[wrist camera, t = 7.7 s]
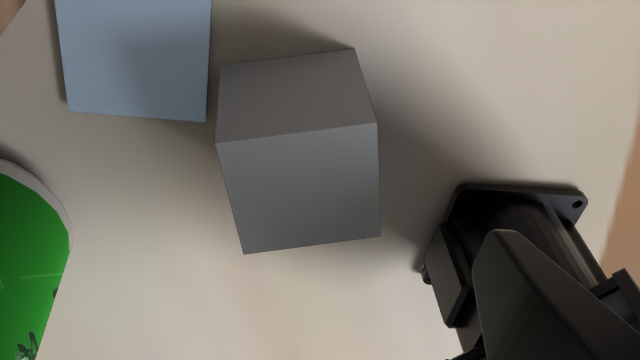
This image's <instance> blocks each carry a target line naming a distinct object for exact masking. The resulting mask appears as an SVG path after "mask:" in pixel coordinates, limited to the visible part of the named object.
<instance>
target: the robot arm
mask: <svg viewBox="0 0 640 360" xmlns="http://www.w3.org/2000/svg"><path fill="white" fill-rule="evenodd" d="M466 193H469V194H468V195H466V196H463V195H464V194H466ZM575 201H576V202H575ZM587 204H588V199H587V198H586V196H585V195H584V193H583V192H581V191H574V190H560V189H545V188H531V187H516V186H502V185H487V184H473V183H465V184H462V185H460V186H458V187H457V188H456V190H455V191H454V194H453V196H452V199H451V201H450V204H449V206H448V208H447V211H446V213H445V216H444V218H443V221H441V223H440V224H439V225H438V226H437V229H436V231H435V234H434V236H433V238H432V241H431V243H430V246H429V248H428V251H427V253H426V256H425V258H424V261H425V265H424V267H423V270H422V273H421V275H422V279H423V281H424V283H426V284H429V285H432V287H433V290H434V293H435V296H436V299H437V302H438V305H439V309H440V312H441V315H442V318H443V321H444V323H445V325H446V326H447V327H448V328H455V329H456V332H457V335H458V338H459V341H460V344H461V347H462V350H463V353H462V354H460V355H458V356H456V357H455V358H453V359H451V360H640V288H639V286H638V285H637V284H636V282H635V281H634V280H633V278H632V277H631V276H630V274H629V273H628V272H627V270H626V269H625V268H623V269H621V270H619V271H617V272H615V273H613V274H612V276H613V277H611V278H609V279H607V277H606V276H605V274H604V273H603V271H602V269H601V268H600V266H599V265H598V263H597V261H596V260H595V258H594V257H593V255H592V253H591V252H590V250H589V249H588V247H587V245H586V244H585V242H584V241H583V239H582V237H581V236H580V234H579V233H578V231H577V229H576V228H575V224H576V222H577V221H578V219H579V217H580V216H581V214H582V213H583V211H584V209H585V208H586V206H587ZM446 360H448V359H446Z"/></svg>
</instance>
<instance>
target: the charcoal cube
mask: <svg viewBox="0 0 640 360" xmlns="http://www.w3.org/2000/svg"><path fill="white" fill-rule="evenodd" d="M215 146H216V150H217V154H218V158H219V162H220V166H221V169H222V173H223V177H224V181H225V185H226V189H227V192H228V196H229V200H230V204H231V208H232V212H233V216H234V219H235V223H236V227H237V231H238V235H239V239H240V243H241V246H242V250H243V254H252V253H259V252H267V251H274V250H282V249H289V248H297V247H304V246H312V245H319V244H327V243H334V242H342V241H349V240H357V239H364V238H372V237H379V236H381V227H380V195H379V164H378V132H377V120H376V117H375V114H374V110H373V107H372V104H371V101H370V97H369V94H368V91H367V88H366V84H365V81H364V78H363V75H362V71H361V68H360V65H359V61H358V58H357V55H356V52H355V48H352V49H344V50H336V51H328V52H321V53H313V54H305V55H297V56H290V57H282V58H274V59H266V60H259V61H251V62H243V63H235V64H228V65H221V68H220V81H219V95H218V108H217V121H216V135H215Z"/></svg>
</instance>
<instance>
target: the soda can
mask: <svg viewBox="0 0 640 360" xmlns="http://www.w3.org/2000/svg"><path fill="white" fill-rule="evenodd" d="M71 246H72V225H71V220H70V218H69V216H68V215H67V213H66V211H65V209H64V207H63V205H62V203H61V201H60V200H59V199H58V198H57V197H56V196H55V195H54V194H53V193H52V192H51V191H50V190H49V189H48V188H47V187H46V186H45V185H44V184H43V183H42V182H41V181H39V180H38V179H37V178H36V177H35V176H34V175H33V174H31V173H30V172H28V171H26V170H25V169H23V168H21V167H20V166H18V165H16V164H14V163H13V162H10V161H7V160H4V159H1V158H0V360H35V358H36V355H37V352H38V349H39V346H40V343H41V340H42V337H43V333H44V330H45V327H46V324H47V321H48V318H49V315H50V312H51V309H52V306H53V302H54V299H55V296H56V293H57V290H58V287H59V284H60V281H61V278H62V274H63V271H64V268H65V265H66V262H67V259H68V256H69V253H70V250H71Z"/></svg>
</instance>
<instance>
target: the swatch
mask: <svg viewBox="0 0 640 360" xmlns="http://www.w3.org/2000/svg"><path fill="white" fill-rule="evenodd" d="M54 1H55V9H56V17H57V25H58V33H59V41H60V49H61V57H62V65H63V73H64V81H65V89H66V97H67V104H68V111H72V112H84V113H97V114H109V115H121V116H133V117H145V118H157V119H170V120H182V121H194V122H205V119H206V102H207V82H208V62H209V42H210V22H211V2H212V0H54Z"/></svg>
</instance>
